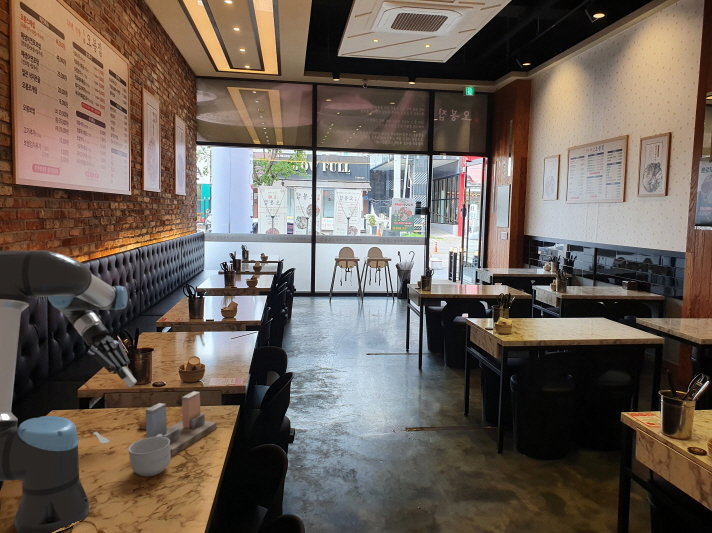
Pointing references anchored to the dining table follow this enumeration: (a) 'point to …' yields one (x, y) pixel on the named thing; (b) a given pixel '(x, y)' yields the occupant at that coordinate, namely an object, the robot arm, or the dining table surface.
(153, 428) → the grey rectangular block
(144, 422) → the pastry
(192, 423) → the taupe stand
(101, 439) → the butter knife
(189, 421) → the pink upright block
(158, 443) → the teacup
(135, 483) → the dining table surface
